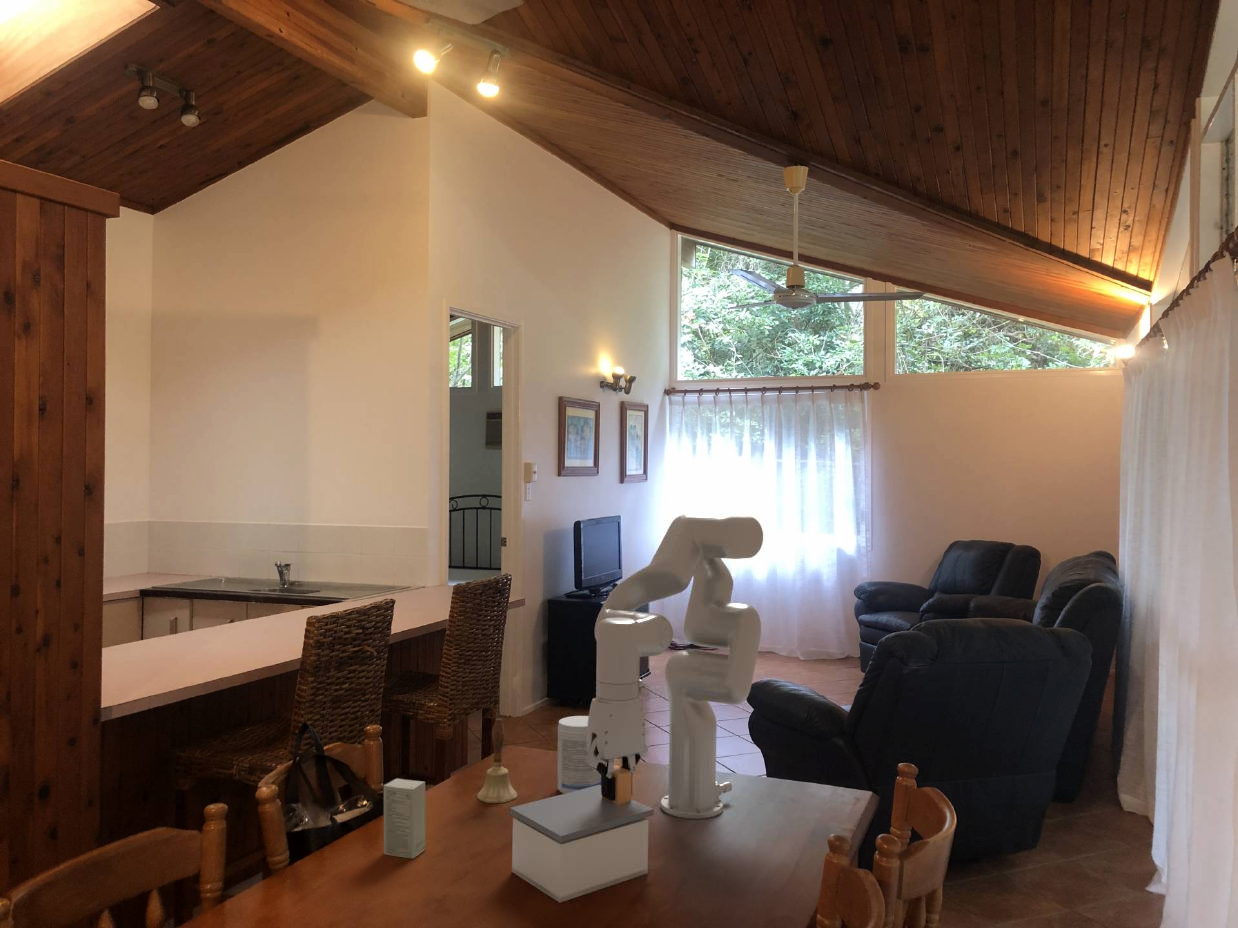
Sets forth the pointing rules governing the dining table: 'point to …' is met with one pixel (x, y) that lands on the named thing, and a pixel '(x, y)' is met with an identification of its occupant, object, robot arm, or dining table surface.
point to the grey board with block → (584, 810)
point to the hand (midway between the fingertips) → (616, 794)
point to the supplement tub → (574, 756)
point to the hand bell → (497, 772)
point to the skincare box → (404, 818)
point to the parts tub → (579, 858)
